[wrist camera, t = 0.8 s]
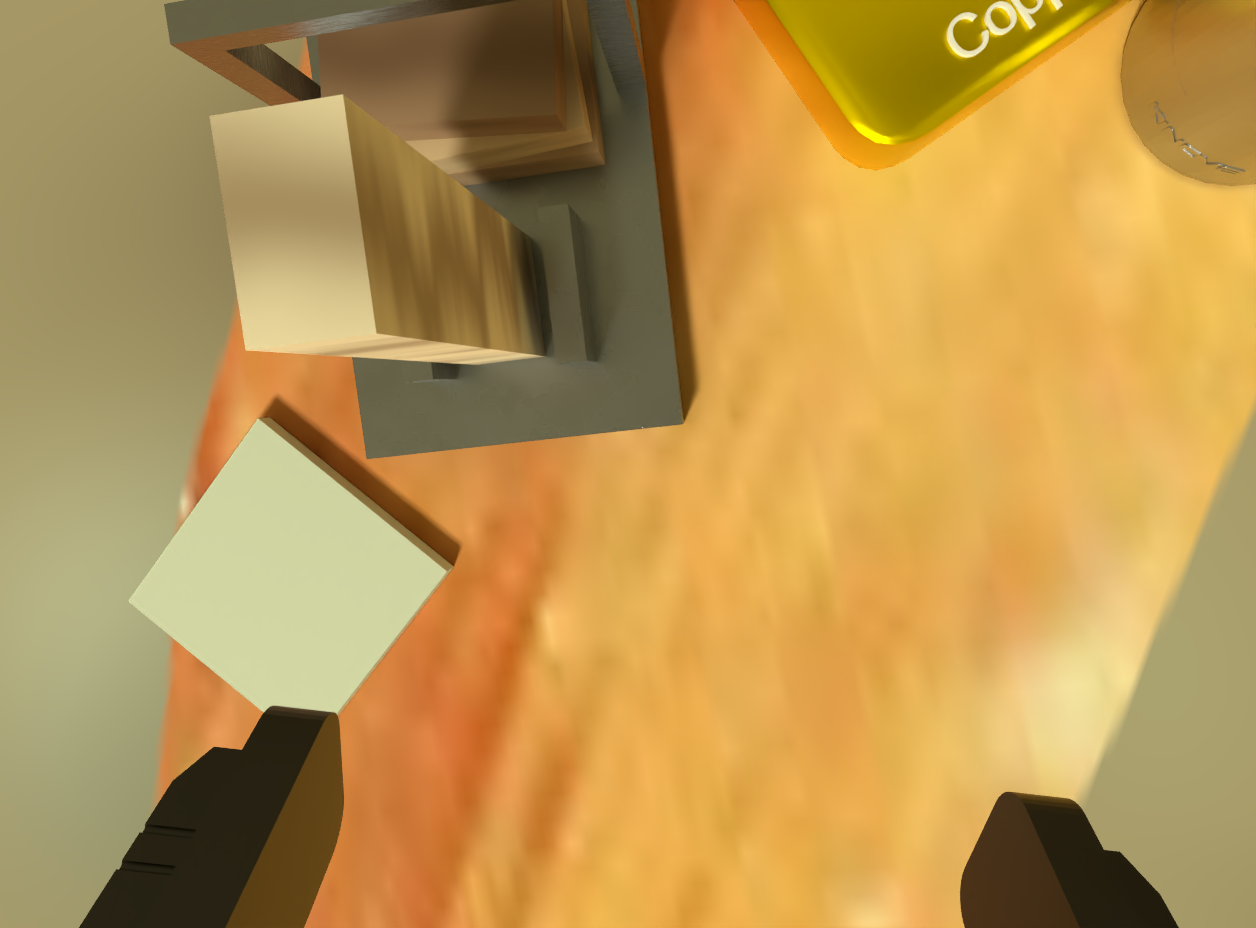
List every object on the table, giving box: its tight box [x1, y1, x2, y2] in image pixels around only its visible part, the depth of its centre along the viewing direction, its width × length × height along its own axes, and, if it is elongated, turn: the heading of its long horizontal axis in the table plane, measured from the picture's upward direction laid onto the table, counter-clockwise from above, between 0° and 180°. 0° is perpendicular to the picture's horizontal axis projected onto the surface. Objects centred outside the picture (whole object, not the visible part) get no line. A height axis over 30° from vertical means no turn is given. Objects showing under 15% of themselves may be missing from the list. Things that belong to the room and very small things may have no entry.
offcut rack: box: [164, 0, 684, 459], centre depth 31 cm, size 20×14×12 cm
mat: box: [128, 417, 454, 716], centre depth 39 cm, size 11×11×1 cm
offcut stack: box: [317, 0, 606, 186], centre depth 32 cm, size 7×10×6 cm
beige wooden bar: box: [210, 94, 545, 365], centre depth 27 cm, size 5×3×18 cm, turn 7°
